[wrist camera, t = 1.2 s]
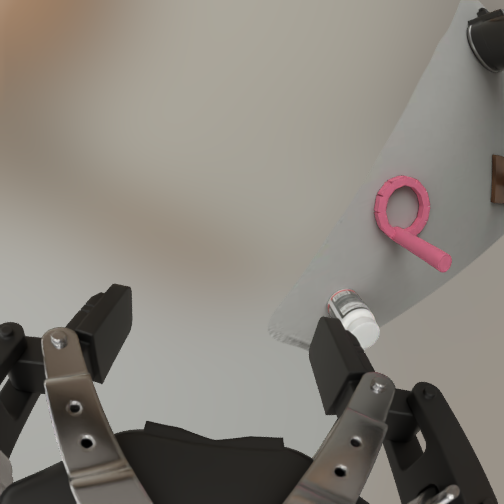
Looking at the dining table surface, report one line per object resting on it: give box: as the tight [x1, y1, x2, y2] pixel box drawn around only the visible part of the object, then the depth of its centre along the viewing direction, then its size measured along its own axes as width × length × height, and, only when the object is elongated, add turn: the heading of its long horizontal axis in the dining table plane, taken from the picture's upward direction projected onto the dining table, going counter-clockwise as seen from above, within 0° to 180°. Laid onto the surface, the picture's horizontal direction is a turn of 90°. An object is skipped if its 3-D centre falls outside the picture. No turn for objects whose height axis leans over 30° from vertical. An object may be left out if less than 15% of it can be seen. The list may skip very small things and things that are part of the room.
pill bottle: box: [328, 289, 380, 350], centre depth 33 cm, size 5×5×8 cm
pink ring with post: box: [374, 175, 452, 272], centre depth 28 cm, size 9×8×11 cm
